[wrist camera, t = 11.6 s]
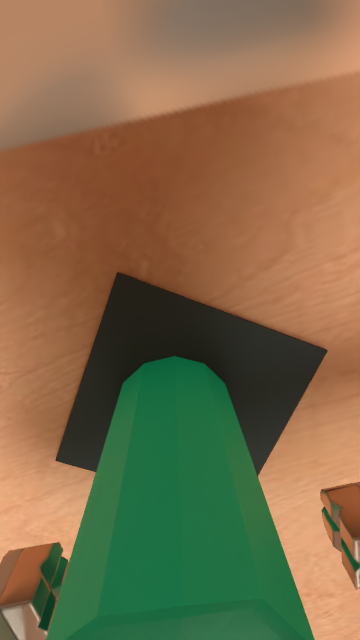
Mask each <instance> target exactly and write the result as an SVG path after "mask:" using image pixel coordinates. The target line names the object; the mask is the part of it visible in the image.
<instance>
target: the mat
mask: <svg viewBox="0 0 360 640" xmlns="http://www.w3.org/2000/svg"><path fill="white" fill-rule="evenodd" d="M326 353H327V350H326V349H323V348H320V347H318V346H315V345H312V344H310V343H307V342H304V341H302V340H299V339H296V338H293V337H291V336H288V335H285V334H283V333H280V332H277V331H275V330H272V329H269V328H267V327H264V326H261V325H259V324H256V323H253V322H250V321H248V320H245V319H242V318H240V317H237V316H234V315H232V314H229V313H226V312H224V311H221V310H218V309H215V308H213V307H210V306H207V305H205V304H202V303H199V302H197V301H194V300H191V299H189V298H186V297H183V296H181V295H178V294H175V293H172V292H170V291H167V290H164V289H162V288H159V287H156V286H154V285H151V284H148V283H146V282H143V281H140V280H138V279H135V278H132V277H129V276H127V275H124V274H121V273H119V272H117V275H116V278H115V281H114V284H113V287H112V290H111V293H110V296H109V299H108V302H107V305H106V308H105V311H104V314H103V317H102V320H101V323H100V327H99V330H98V333H97V336H96V339H95V342H94V345H93V348H92V351H91V354H90V357H89V360H88V363H87V366H86V369H85V372H84V375H83V378H82V381H81V384H80V387H79V390H78V394H77V397H76V400H75V403H74V406H73V409H72V412H71V415H70V418H69V421H68V424H67V427H66V430H65V433H64V436H63V439H62V442H61V445H60V448H59V451H58V454H57V457H56V461H58V462H62V463H65V464H69V465H72V466H76V467H80V468H83V469H87V470H90V471H94V472H96V471H97V468H98V464H99V461H100V458H101V454H102V451H103V448H104V444H105V441H106V438H107V434H108V431H109V428H110V424H111V421H112V418H113V414H114V411H115V408H116V404H117V401H118V398H119V394H120V391H121V388H122V384H123V383H124V382H125V381H126V380H127V379H128V378H129V377H130V376H131V375H132V374H133V373H134V372H135V371H137V370H138V369H139V368H140V367H141V366H142V365H143V364H144V363H148V362H152V361H156V360H160V359H164V358H168V357H172V356H177V357H181V358H185V359H189V360H192V361H196V362H200V363H204V364H205V365H207V366H208V367H209V368H210V369H211V370H212V371H213V372H214V373H215V374H216V375H217V376H218V377H219V378H220V379H221V380H222V381H223V382H224V383H225V385H226V388H227V390H228V393H229V396H230V399H231V402H232V405H233V408H234V410H235V413H236V416H237V419H238V422H239V425H240V428H241V430H242V433H243V436H244V439H245V442H246V445H247V448H248V451H249V453H250V456H251V459H252V462H253V465H254V468H255V471H256V473H257V476H258V475H259V473H260V471H261V469H262V467H263V466H264V464H265V462H266V460H267V458H268V457H269V455H270V453H271V451H272V450H273V448H274V446H275V444H276V442H277V441H278V439H279V437H280V435H281V433H282V432H283V430H284V428H285V426H286V424H287V423H288V421H289V419H290V417H291V416H292V414H293V412H294V410H295V408H296V407H297V405H298V403H299V401H300V399H301V398H302V396H303V394H304V392H305V390H306V389H307V387H308V385H309V383H310V382H311V380H312V378H313V376H314V374H315V373H316V371H317V369H318V367H319V365H320V364H321V362H322V360H323V358H324V356H325V355H326Z"/></svg>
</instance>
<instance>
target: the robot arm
mask: <svg viewBox="0 0 360 640" xmlns="http://www.w3.org/2000/svg"><path fill="white" fill-rule="evenodd" d="M320 496H321V501H322V502H323V504H324V508H323V509H322V516H323V521H324V525H325V528H326V531H327V533H328V536H329V538H330V540H331V542H332V544H333V546H334V547H335V548H336V549H338V550H339V551H340V552H342V563H343V565H344V567H345V569H346V571H347V573H348V575H349V577H350V579H351V581H352V582H353V584H354V586H355V588H356V590H357V589H360V482H357V483H350V484H345V485H341V486H336V487H331V488H326V489H322V490H321V492H320ZM62 552H63V548H62V547H61V545H60V543H59V542H58V543H51V544H45V545H39V546H33V547H27V548H22V549H16V550H11V551H9V552H8V553H7V554H6V555H5V556H4V557H3V559H2V561H1V563H0V640H46V638H47V635H48V632H49V628H50V625H51V622H52V618H53V615H54V612H55V608H56V605H57V601H58V598H59V595H60V591H61V588H62V585H63V581H64V578H65V575H66V571H67V568H68V565H69V562H68V560H67V559H65V558H63V557H62V556H61V555H62Z"/></svg>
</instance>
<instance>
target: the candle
mask: <svg viewBox="0 0 360 640" xmlns="http://www.w3.org/2000/svg"><path fill="white" fill-rule="evenodd" d="M46 640H315V639H314V637H313V634H312V631H311V628H310V625H309V622H308V619H307V617H306V614H305V611H304V608H303V605H302V602H301V599H300V596H299V594H298V591H297V588H296V585H295V582H294V579H293V576H292V574H291V571H290V568H289V565H288V562H287V559H286V556H285V554H284V551H283V548H282V545H281V542H280V539H279V536H278V534H277V531H276V528H275V525H274V522H273V519H272V516H271V513H270V511H269V508H268V505H267V502H266V499H265V496H264V493H263V491H262V488H261V485H260V482H259V479H258V476H257V473H256V471H255V468H254V465H253V462H252V459H251V456H250V453H249V451H248V448H247V445H246V442H245V439H244V436H243V433H242V430H241V428H240V425H239V422H238V419H237V416H236V413H235V410H234V408H233V405H232V402H231V399H230V396H229V393H228V390H227V388H226V385H225V383H224V382H223V381H222V380H221V379H220V378H219V377H218V376H217V375H216V374H215V373H214V372H213V371H212V370H211V369H210V368H209V367H208V366H207V365H205V364H204V363H200V362H196V361H192V360H189V359H185V358H181V357H177V356H172V357H168V358H164V359H160V360H156V361H152V362H148V363H144V364H143V365H142V366H141V367H140V368H139V369H138V370H137V371H135V372H134V373H133V374H132V375H131V376H130V377H129V378H128V379H127V380H126V381H125V382H124V383H123V384H122V388H121V391H120V394H119V398H118V401H117V404H116V408H115V411H114V414H113V418H112V421H111V424H110V428H109V431H108V434H107V438H106V441H105V444H104V448H103V451H102V454H101V458H100V461H99V464H98V468H97V471H96V474H95V478H94V481H93V485H92V488H91V491H90V495H89V498H88V501H87V505H86V508H85V511H84V515H83V518H82V521H81V525H80V528H79V531H78V535H77V538H76V541H75V545H74V548H73V551H72V555H71V558H70V561H69V565H68V568H67V571H66V575H65V578H64V581H63V585H62V588H61V591H60V595H59V598H58V601H57V605H56V608H55V612H54V615H53V618H52V622H51V625H50V628H49V632H48V635H47V638H46Z"/></svg>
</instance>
